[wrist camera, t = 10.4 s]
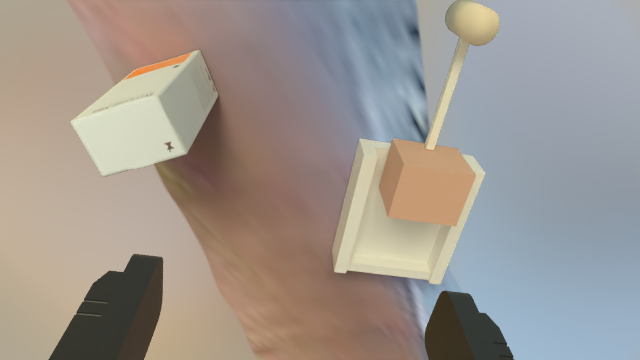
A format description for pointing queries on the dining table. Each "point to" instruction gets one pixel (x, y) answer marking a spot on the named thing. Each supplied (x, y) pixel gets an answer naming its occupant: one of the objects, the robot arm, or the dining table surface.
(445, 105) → the peach block with knob
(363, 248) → the shelf lane
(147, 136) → the skincare box
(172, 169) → the dining table surface
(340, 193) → the dining table surface
